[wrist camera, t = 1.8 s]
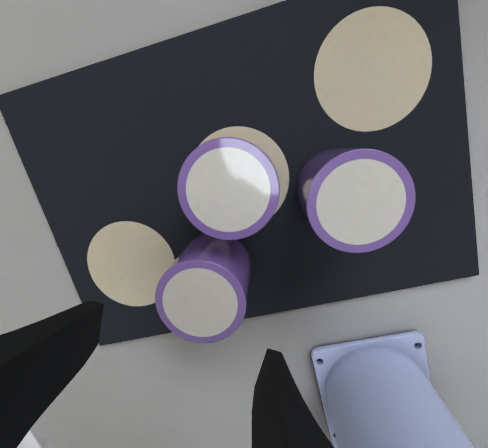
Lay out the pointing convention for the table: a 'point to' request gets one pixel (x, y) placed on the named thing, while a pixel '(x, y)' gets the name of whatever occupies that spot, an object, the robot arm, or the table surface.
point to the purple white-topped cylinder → (228, 188)
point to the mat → (262, 134)
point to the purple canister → (205, 290)
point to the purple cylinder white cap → (356, 198)
